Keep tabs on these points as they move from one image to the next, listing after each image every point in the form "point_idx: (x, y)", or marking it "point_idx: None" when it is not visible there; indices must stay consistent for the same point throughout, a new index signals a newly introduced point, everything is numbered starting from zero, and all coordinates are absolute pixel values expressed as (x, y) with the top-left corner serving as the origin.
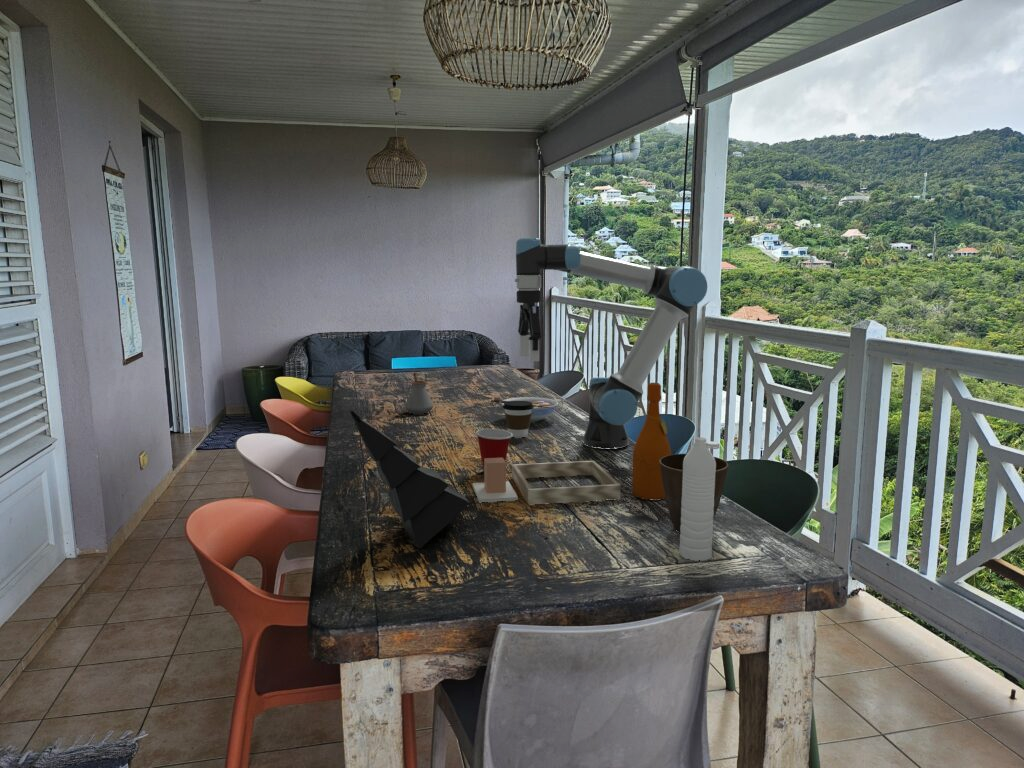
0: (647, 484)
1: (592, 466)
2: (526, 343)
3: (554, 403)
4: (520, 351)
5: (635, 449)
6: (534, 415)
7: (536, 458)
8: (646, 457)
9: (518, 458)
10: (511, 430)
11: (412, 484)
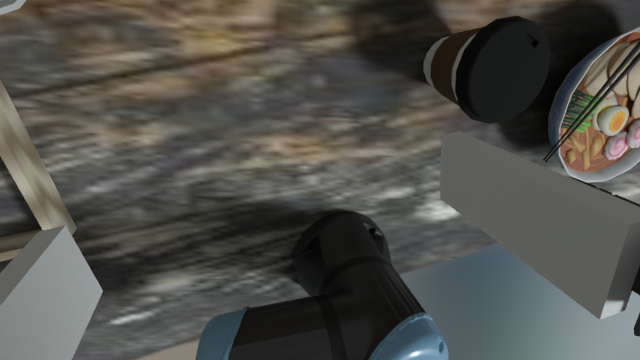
0: None
1: None
2: (522, 236)
3: (606, 171)
4: (474, 146)
5: None
6: (550, 116)
7: (214, 100)
8: None
9: (210, 49)
10: (441, 43)
11: None
